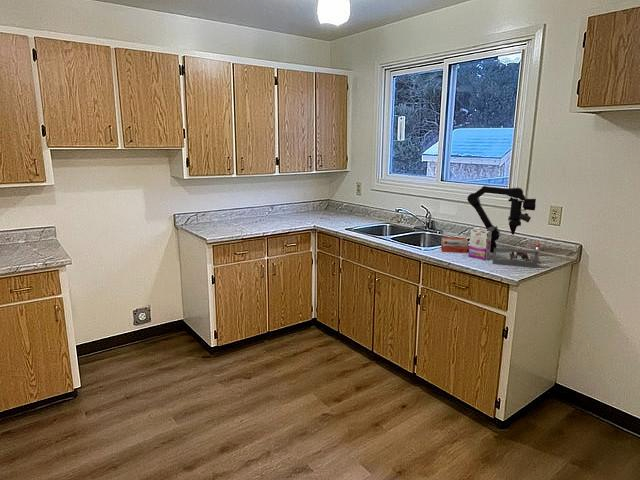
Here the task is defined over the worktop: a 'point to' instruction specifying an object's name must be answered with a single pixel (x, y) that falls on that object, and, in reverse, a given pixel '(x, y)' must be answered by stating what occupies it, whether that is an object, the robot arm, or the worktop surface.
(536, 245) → the handle
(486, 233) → the candy bar box
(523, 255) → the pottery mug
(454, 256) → the worktop surface
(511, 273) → the worktop surface
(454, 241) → the medicine box
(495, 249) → the press bed
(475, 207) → the robot arm
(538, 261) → the ram track
